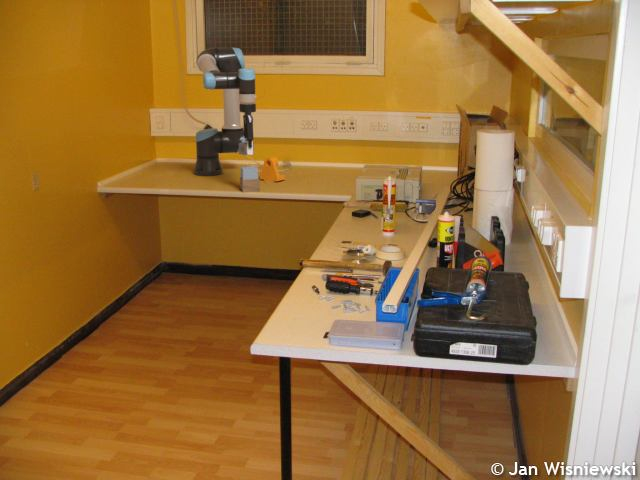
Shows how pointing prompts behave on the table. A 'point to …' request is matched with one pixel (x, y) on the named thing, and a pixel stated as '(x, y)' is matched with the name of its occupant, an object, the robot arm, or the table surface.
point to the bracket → (271, 170)
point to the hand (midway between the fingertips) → (248, 153)
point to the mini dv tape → (425, 206)
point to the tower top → (249, 172)
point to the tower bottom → (250, 185)
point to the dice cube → (244, 148)
